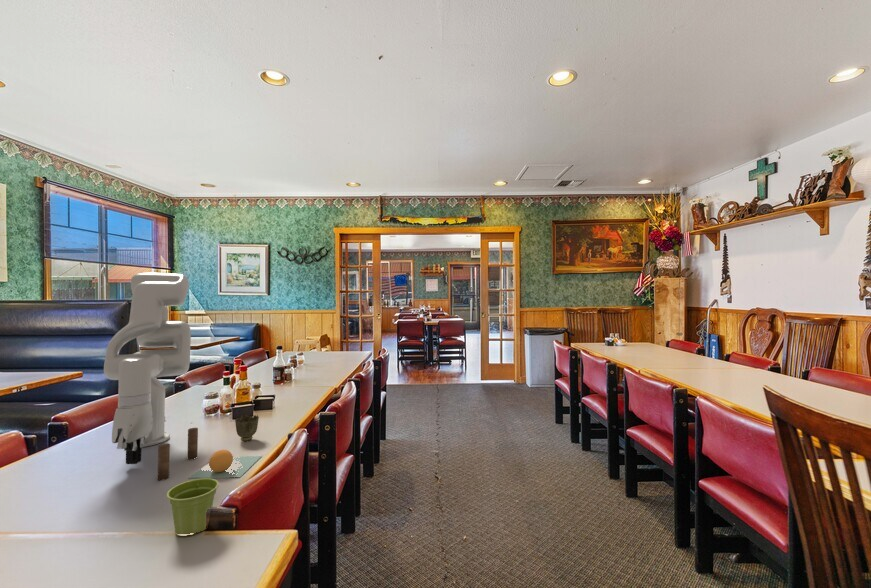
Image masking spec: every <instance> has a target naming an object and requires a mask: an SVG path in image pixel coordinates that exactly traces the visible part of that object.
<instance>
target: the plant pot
mask: <svg viewBox="0 0 871 588" xmlns="http://www.w3.org/2000/svg"><path fill="white" fill-rule="evenodd" d="M219 483H220V482H219V481H218V480H217V479H216V478H194V479H191V480H187V481H184V482H181V483H179V484H177V485H175V486H173V487H172V488H170V489H168V491H167V492H166V498H167V499H168V500H169V504H170V506H171V511H172V519H173V525H174V526H173V527H174V532H175V534H176V533H177V534H190V533H195V532H197V533H201V532H200V531H202V532H203V531H205V530H206V529H207V528H206V511H207V510H208V509H209V508H213V503H214V499H215V494H216V492H217V489H218V487H219ZM177 534H176V535H177ZM195 534H196V533H195Z"/></svg>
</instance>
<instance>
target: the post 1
mask: <svg viewBox="0 0 871 588" xmlns="http://www.w3.org/2000/svg"><path fill="white" fill-rule="evenodd" d="M170 450H171V444H170V443H162V444H161V443H160V444H159V445H158V446H157V480H158V481H165V480H167V479H169V478H170V462H171V461H170V458H171V457H170V452H171V451H170Z"/></svg>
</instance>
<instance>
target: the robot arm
mask: <svg viewBox="0 0 871 588" xmlns="http://www.w3.org/2000/svg"><path fill="white" fill-rule="evenodd" d="M189 286H190V282H189V279H188V276H187V275H185V274H182V273H166V272H165V273H163V272H142V273H141V272H140V273H136V274H134V275H132V277H131V279H130V289H131V292H132V297H131V306H130V310H129V311H130V313H129V320H128V323H127V324H126V325H125V326H124V327H122V328H121V329H120V330H118V332H116V333H115V334H114V335H113V336H112V338H111V339H110V341H109V343H108V344H107V346H106V352H105V358H104V364H103V374H104V376H105V378H107V379H108V380H111V381H118V389H117V390H118V394H117V398H118V399H117V408H115V412H114V416H113V421H112V428H111V429H112V430H111V442H112V444H117V446H116V449H117V450H124V452H125V465H137V464H139V463H141V462H142V448H145V447H150V446H155V445H158V444H159V445H160V444H161V443H164V442H166V441H167V440H169V439H170V437H171V436H170V435H171V434H170V433H169V432H167V431H165V423H166V422H165V420H166V415H165V414H166V412H165V411H166V388H165V386H164V384H163V383H162V381H160V380H159V379H158V378H162V377H175V376H182V375H185V374H187V372H188V371H189V369H190V363H191V342H192V331H191V330H192V329H191V327H190V325H189V323H188V322H186V321H184V320H168V316H169V315H168V314H169V310H168V308H167V307H175V306H176V307H180V306H182V305H183V304H184V303H185V301H186V299H187V295H188V292H189V288H190V287H189ZM135 339H136V342H137V344H138V346H140V347H142V348H151V349H145V350H140V351H137V352H134V353H131V354H130V353H129V354H120V351H121V349H122V348H123V347H124V345H126V344H127V343H129V342H130V341H132V340H135ZM153 348H165V349H153ZM166 348H167V349H166ZM168 348H169V349H168ZM171 348H172V349H171Z"/></svg>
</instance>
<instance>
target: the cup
mask: <svg viewBox="0 0 871 588" xmlns="http://www.w3.org/2000/svg"><path fill="white" fill-rule="evenodd" d="M259 418H260V417H259V415H255V414H254V415H253V416H251V414H249V415H248V414H245V415H244V416H243V415H241V416H238V417H236V418H235V419H234V422H235V423H234V424H235V431H236V434H237V436H238V437H240V440H241V442H242V441H243V443H246V442H247V441H248V442H250V441H252V440H253V438H254V437H253V436H254V435H255V434H256V432H257V430H258V427H259V426H258V425H259Z"/></svg>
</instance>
